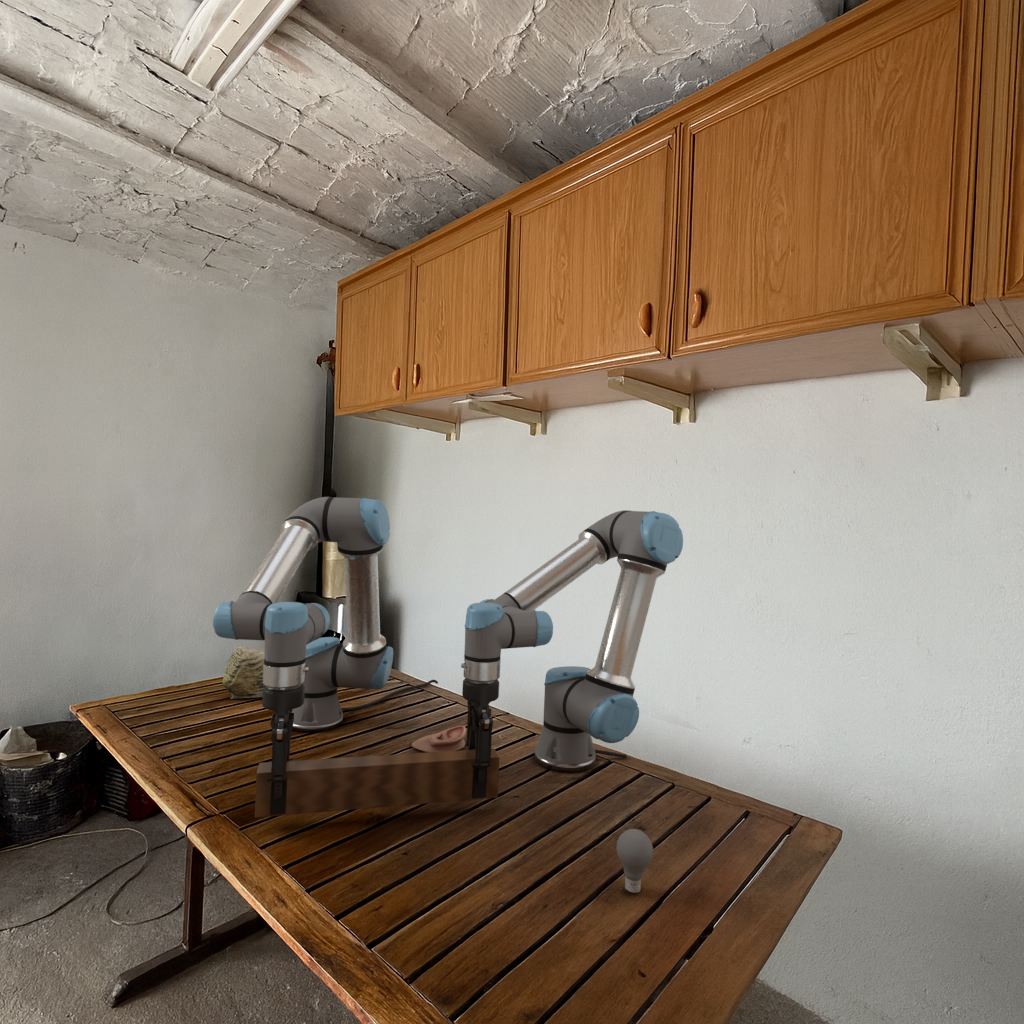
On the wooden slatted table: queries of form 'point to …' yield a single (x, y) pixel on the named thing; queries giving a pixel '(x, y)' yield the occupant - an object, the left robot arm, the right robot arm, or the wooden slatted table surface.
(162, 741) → the wooden slatted table surface
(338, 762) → the plank
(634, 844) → the light bulb
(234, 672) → the fossil
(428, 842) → the wooden slatted table surface
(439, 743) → the anatomical model
